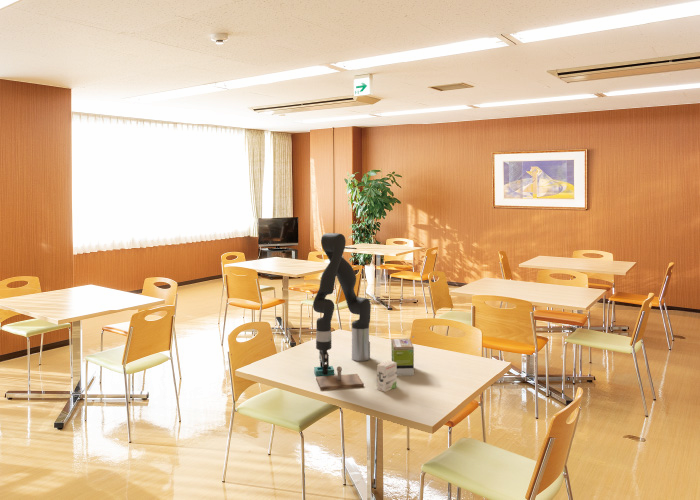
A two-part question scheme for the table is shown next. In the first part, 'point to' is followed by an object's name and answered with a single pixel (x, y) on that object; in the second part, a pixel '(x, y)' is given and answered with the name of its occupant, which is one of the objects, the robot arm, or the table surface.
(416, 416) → the table surface
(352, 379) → the plate
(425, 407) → the table surface
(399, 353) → the tea box
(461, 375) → the table surface
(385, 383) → the ink box
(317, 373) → the teal open frame
